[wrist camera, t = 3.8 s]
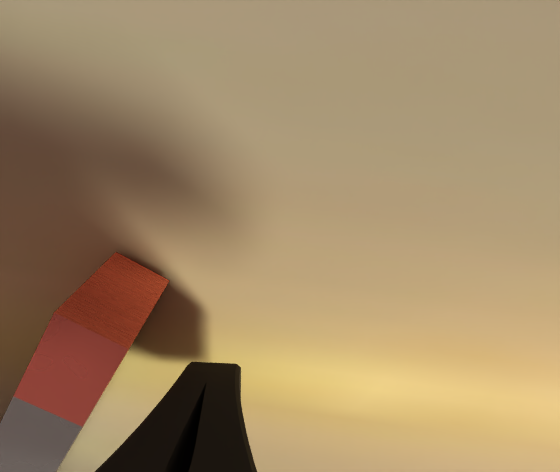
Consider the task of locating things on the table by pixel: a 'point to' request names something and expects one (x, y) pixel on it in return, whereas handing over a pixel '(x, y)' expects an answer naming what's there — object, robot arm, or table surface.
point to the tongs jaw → (76, 364)
